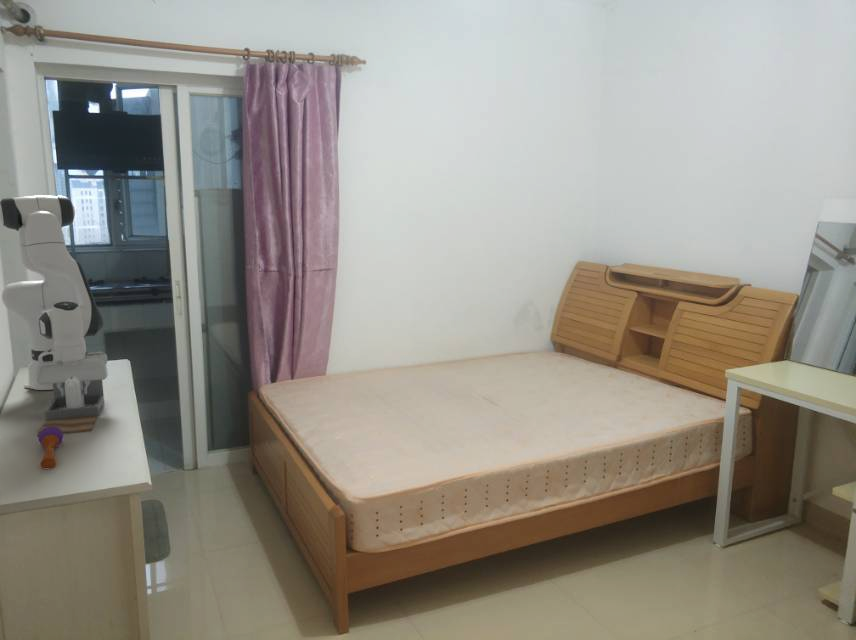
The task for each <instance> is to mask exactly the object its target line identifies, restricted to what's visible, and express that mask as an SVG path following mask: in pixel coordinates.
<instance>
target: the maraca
mask: <svg viewBox="0 0 856 640" xmlns="http://www.w3.org/2000/svg"><path fill="white" fill-rule="evenodd" d="M37 437H38V443H39V444H40V446H42V447H43V448H45V452H44V454H43V457H42V459H41V461H40V467H41V468H42V469H43V470H45V469H44V468H50V469H53V468H55V466H56V465H57V463H56V458H55V453H54V449H56V448H57V447H58V446H60V444H62V443H63V440H64V434H63V432H62V431H61V429H59V428H58V427H53V426H51V427H46V428H44V429H43V430H42V431H41V432H40V434H39V436H37ZM52 467H53V468H52Z"/></svg>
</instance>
